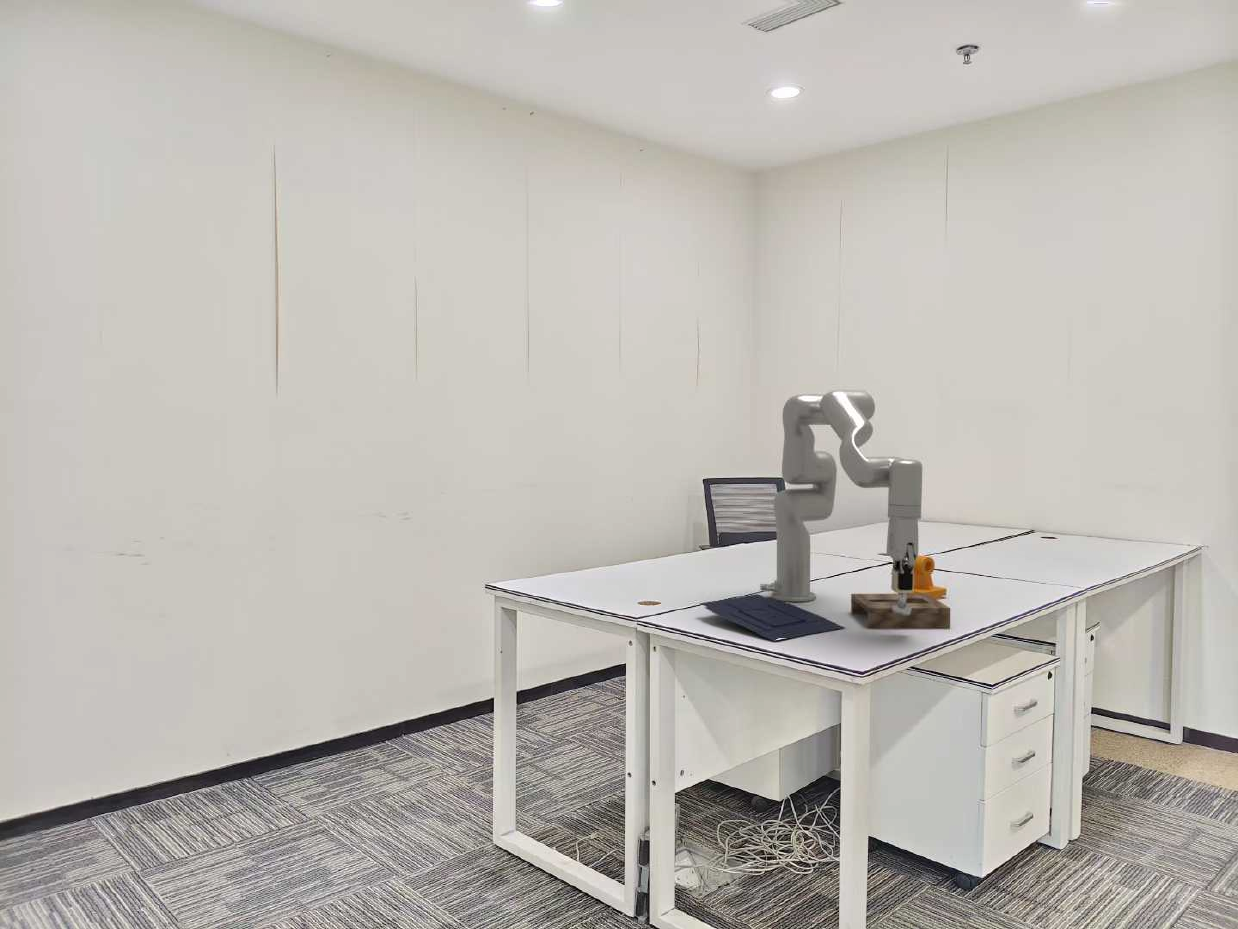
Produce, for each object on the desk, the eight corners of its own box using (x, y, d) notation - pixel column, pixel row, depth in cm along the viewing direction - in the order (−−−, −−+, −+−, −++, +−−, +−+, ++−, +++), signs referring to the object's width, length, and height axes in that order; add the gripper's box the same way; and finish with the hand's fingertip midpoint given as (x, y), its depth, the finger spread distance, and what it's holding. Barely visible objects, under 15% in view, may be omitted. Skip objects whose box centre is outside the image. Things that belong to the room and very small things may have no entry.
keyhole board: (869, 628, 221) (869, 608, 221) (851, 612, 239) (851, 593, 239) (950, 628, 221) (950, 608, 221) (925, 612, 239) (926, 593, 239)
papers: (761, 603, 246) (763, 590, 246) (844, 638, 222) (846, 624, 221) (693, 614, 233) (694, 601, 232) (773, 653, 208) (774, 638, 208)
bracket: (922, 602, 252) (923, 560, 252) (902, 597, 258) (902, 556, 258) (947, 598, 258) (948, 556, 257) (927, 593, 264) (927, 553, 263)
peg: (895, 615, 212) (896, 572, 211) (889, 611, 216) (890, 568, 215) (913, 615, 212) (915, 572, 211) (907, 611, 216) (909, 568, 215)
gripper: (878, 507, 220) (876, 580, 222) (899, 516, 204) (896, 595, 205) (909, 507, 220) (907, 580, 222) (932, 516, 203) (929, 595, 205)
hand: (902, 587), depth 213 cm, fingers closed on peg, 4 cm apart
